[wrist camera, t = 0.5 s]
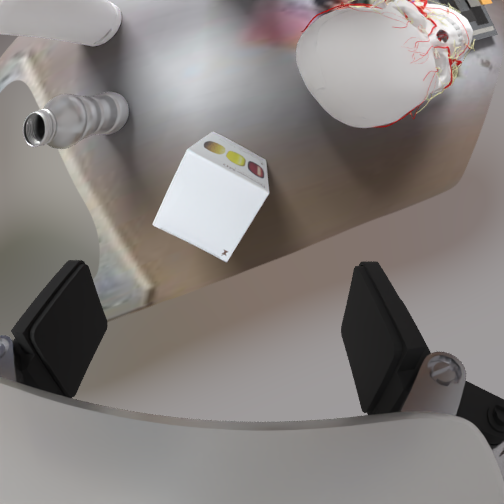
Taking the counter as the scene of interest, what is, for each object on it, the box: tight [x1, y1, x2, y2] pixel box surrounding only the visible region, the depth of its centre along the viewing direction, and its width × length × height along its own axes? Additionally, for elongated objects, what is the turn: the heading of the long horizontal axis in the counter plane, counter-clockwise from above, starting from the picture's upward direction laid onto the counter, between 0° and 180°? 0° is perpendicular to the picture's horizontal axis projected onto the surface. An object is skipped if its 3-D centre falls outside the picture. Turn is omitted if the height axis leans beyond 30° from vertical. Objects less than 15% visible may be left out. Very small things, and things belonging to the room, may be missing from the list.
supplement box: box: [153, 132, 269, 262], centre depth 37 cm, size 10×9×17 cm
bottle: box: [0, 0, 122, 46], centre depth 19 cm, size 8×8×28 cm
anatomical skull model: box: [296, 0, 476, 128], centre depth 26 cm, size 16×19×25 cm
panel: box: [407, 0, 498, 43], centre depth 26 cm, size 14×19×6 cm
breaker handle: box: [467, 0, 492, 7], centre depth 23 cm, size 2×3×4 cm, turn 121°
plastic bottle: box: [23, 91, 129, 149], centre depth 30 cm, size 6×7×20 cm
